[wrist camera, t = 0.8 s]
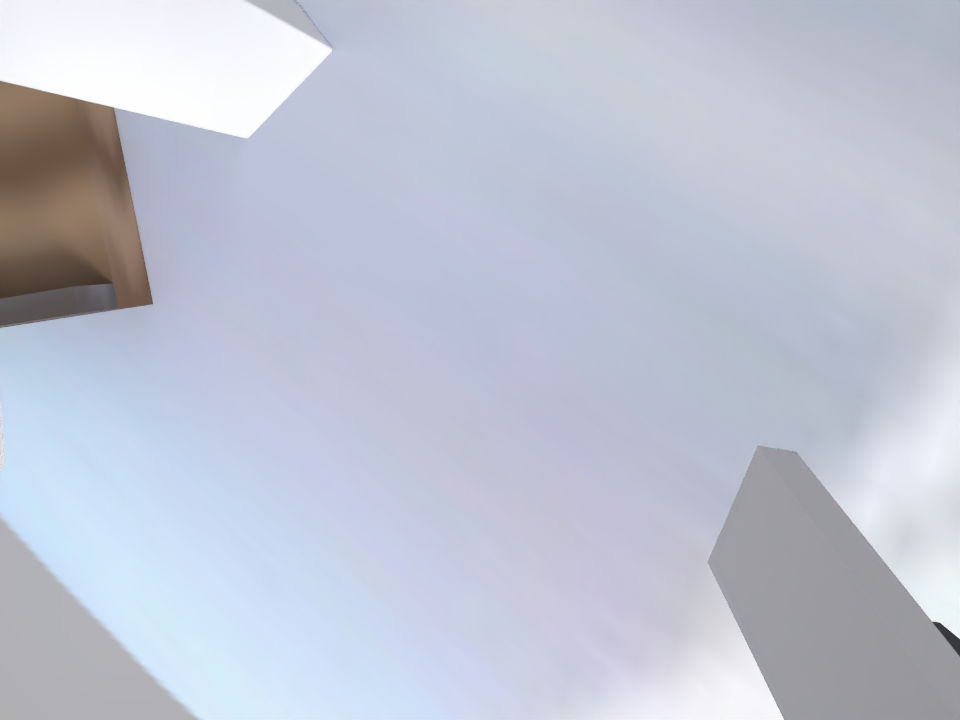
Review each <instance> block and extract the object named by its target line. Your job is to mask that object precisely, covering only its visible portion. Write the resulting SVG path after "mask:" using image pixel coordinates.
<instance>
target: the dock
mask: <svg viewBox="0 0 960 720" xmlns="http://www.w3.org/2000/svg"><path fill="white" fill-rule="evenodd" d="M150 304H153V302H152V297H151V292H150V287H149V282H148V277H147V272H146V267H145V262H144V257H143V252H142V247H141V242H140V237H139V232H138V227H137V222H136V217H135V212H134V207H133V203H132V198H131V193H130V188H129V183H128V178H127V173H126V168H125V163H124V158H123V153H122V148H121V143H120V138H119V133H118V128H117V123H116V118H115V113H114V108H113V107H110V106H106V105H101V104H97V103H93V102H88V101H84V100H80V99H76V98H71V97H67V96H63V95H59V94H54V93H50V92H46V91H42V90H37V89H33V88H29V87H25V86H20V85H16V84H12V83H7V82H3V81H0V328H1V327H8V326H14V325H21V324H27V323H34V322H40V321H47V320H53V319H59V318H66V317H72V316H79V315H85V314H92V313H98V312H105V311H111V310H118V309H124V308H130V307H137V306H143V305H150Z"/></svg>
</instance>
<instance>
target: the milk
mask: <svg viewBox="0 0 960 720" xmlns="http://www.w3.org/2000/svg"><path fill="white" fill-rule="evenodd" d="M332 50H333V49H332V47H331V46H330V45H329V43H328V42H327V41H326V40H325V38H324V37H323V36H322V35H321V33H320V32H319V31H318V29H317V28H316V27H315V26H314V24H313V23H312V22H311V21H310V19H309V18H308V17H307V16H306V14H305V13H304V12H303V10H302V9H301V8H300V7H299V5H298V4H297V3H296V2H295V0H0V81H3V82H7V83H12V84H16V85H20V86H25V87H29V88H33V89H37V90H42V91H46V92H50V93H54V94H59V95H63V96H67V97H71V98H76V99H80V100H84V101H88V102H93V103H97V104H101V105H106V106H110V107H114V108H118V109H123V110H127V111H131V112H135V113H140V114H144V115H148V116H152V117H157V118H161V119H165V120H169V121H174V122H178V123H182V124H187V125H191V126H195V127H199V128H204V129H208V130H212V131H216V132H221V133H225V134H229V135H233V136H238V137H242V138H249V137H250V136H251V135H252V134H253V133H254V132H255V131H256V130H257V128H258V127H259V126H260V125H261V124H262V123H263V122H264V121H265V120H266V119H267V118H268V117H269V116H270V115H271V114H272V113H273V112H274V111H275V110H276V109H277V108H278V107H279V106H280V105H281V104H282V103H283V102H284V101H285V100H286V98H287V97H288V96H289V95H290V94H291V93H292V92H293V91H294V90H295V89H296V88H297V87H298V86H299V85H300V84H301V83H302V82H303V81H304V80H305V79H306V78H307V77H308V76H309V75H310V74H311V73H312V72H313V71H314V70H315V68H316V67H317V66H318V65H319V64H320V63H321V62H322V61H323V60H324V59H325V58H326V57H327V56H328V55H329V54H330V53H331V52H332Z"/></svg>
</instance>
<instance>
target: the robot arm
mask: <svg viewBox="0 0 960 720" xmlns="http://www.w3.org/2000/svg"><path fill="white" fill-rule="evenodd" d="M3 467H4V450H3V434H2V417H1V401H0V470H1V469H2V468H3ZM708 564H709V566H710V568H711V570H712V572H713V574H714V576H715V578H716V580H717V582H718V584H719V586H720V588H721V591H722V593H723V595H724V597H725V599H726V601H727V603H728V605H729V607H730V609H731V611H732V613H733V615H734V617H735V619H736V621H737V623H738V625H739V627H740V630H741V632H742V634H743V636H744V638H745V640H746V642H747V644H748V646H749V648H750V650H751V652H752V654H753V656H754V658H755V660H756V662H757V664H758V667H759V669H760V671H761V673H762V675H763V677H764V679H765V681H766V683H767V685H768V687H769V689H770V691H771V693H772V695H773V697H774V699H775V701H776V704H777V706H778V708H779V710H780V712H781V714H782V716H783V718H784V720H960V639H959V638H958V637H956V636H955V635H954V634H953V633H951V632H950V631H949V630H948V629H947V628H945V627H944V626H943V625H942V624H941V623H937V622H932V621H931V620H930V619H929V617H928V616H927V615H926V614H925V612H924V611H923V610H922V609H921V607H920V606H919V605H918V604H917V602H916V601H915V600H914V599H913V597H912V596H911V595H910V594H909V592H908V591H907V590H906V589H905V587H904V586H903V585H902V584H901V582H900V581H899V580H898V579H897V577H896V576H895V575H894V574H893V572H892V571H891V570H890V569H889V567H888V566H887V565H886V564H885V562H884V561H883V560H882V559H881V557H880V556H879V555H878V554H877V552H876V551H875V550H874V549H873V547H872V546H871V545H870V544H869V542H868V541H867V540H866V539H865V537H864V536H863V535H862V534H861V532H860V531H859V530H858V529H857V527H856V526H855V525H854V524H853V522H852V521H851V520H850V519H849V517H848V516H847V515H846V514H845V512H844V511H843V510H842V509H841V507H840V506H839V505H838V504H837V502H836V501H835V500H834V499H833V497H832V496H831V495H830V494H829V492H828V491H827V490H826V489H825V487H824V486H823V485H822V484H821V482H820V481H819V480H818V479H817V477H816V476H815V475H814V474H813V472H812V471H811V470H810V469H809V467H808V466H807V465H806V464H805V462H804V461H803V460H802V459H801V457H800V456H799V455H798V454H797V452H794V451H788V450H781V449H775V448H769V447H763V446H758V447H757V449H756V451H755V454H754V456H753V458H752V461H751V463H750V465H749V468H748V470H747V472H746V474H745V477H744V479H743V481H742V484H741V486H740V488H739V491H738V493H737V495H736V498H735V500H734V502H733V505H732V507H731V509H730V512H729V514H728V516H727V518H726V521H725V523H724V525H723V528H722V530H721V532H720V535H719V537H718V539H717V542H716V544H715V546H714V549H713V551H712V553H711V555H710V558H709V560H708Z"/></svg>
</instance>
